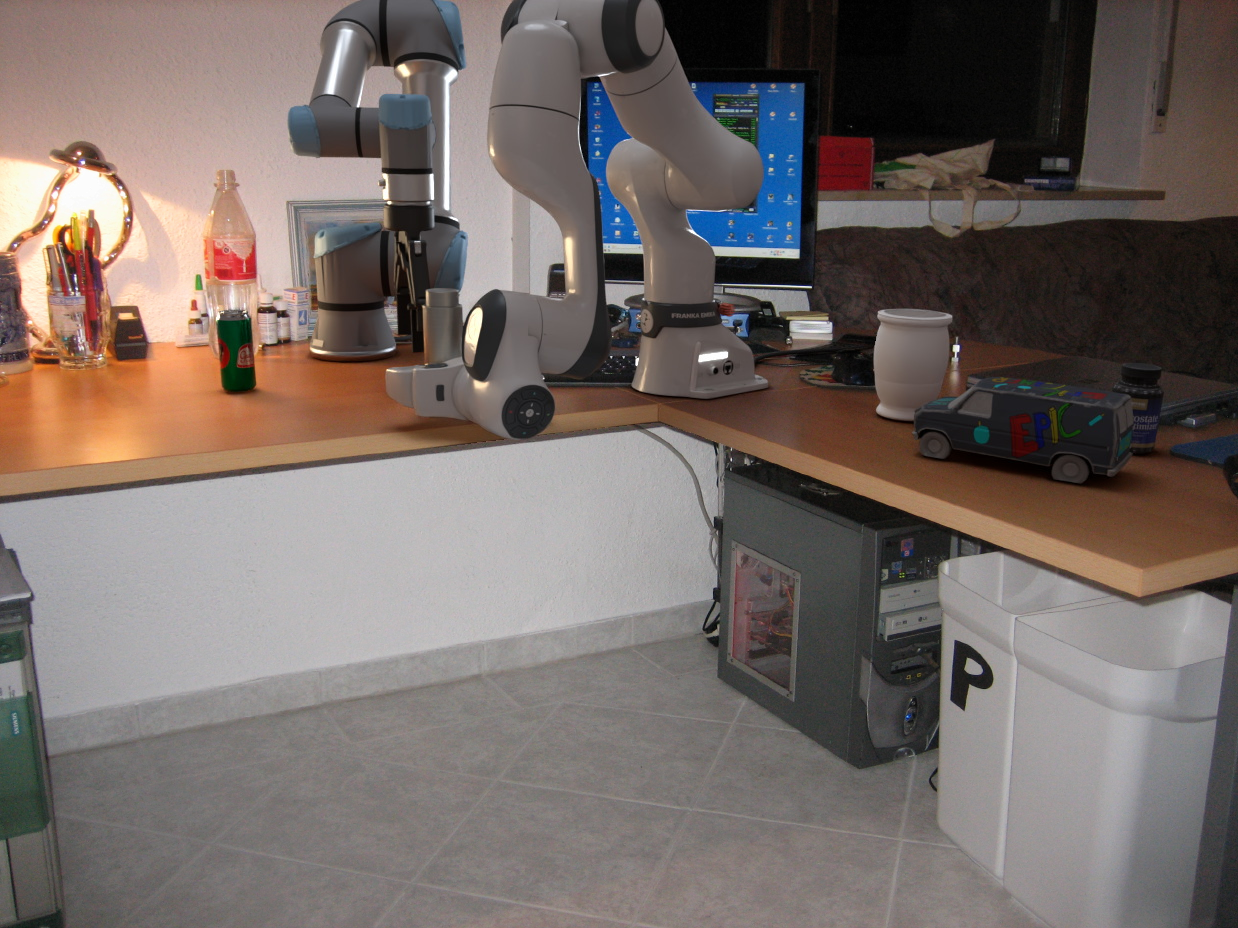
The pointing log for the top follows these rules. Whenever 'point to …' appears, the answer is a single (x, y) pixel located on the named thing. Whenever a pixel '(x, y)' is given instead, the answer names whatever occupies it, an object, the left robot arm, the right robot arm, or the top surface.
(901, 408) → the jar
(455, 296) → the metal thermos bottle
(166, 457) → the top surface
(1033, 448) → the toy van
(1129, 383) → the pill bottle
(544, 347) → the right robot arm
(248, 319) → the soda can
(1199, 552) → the top surface
